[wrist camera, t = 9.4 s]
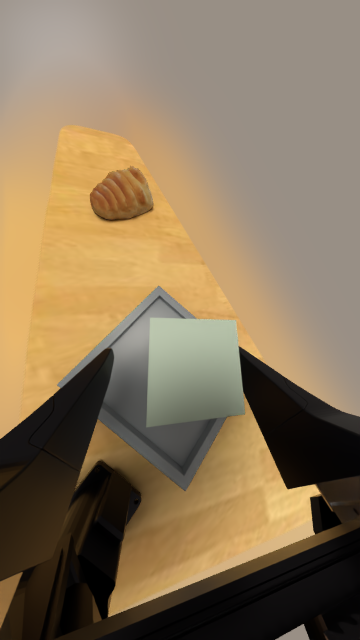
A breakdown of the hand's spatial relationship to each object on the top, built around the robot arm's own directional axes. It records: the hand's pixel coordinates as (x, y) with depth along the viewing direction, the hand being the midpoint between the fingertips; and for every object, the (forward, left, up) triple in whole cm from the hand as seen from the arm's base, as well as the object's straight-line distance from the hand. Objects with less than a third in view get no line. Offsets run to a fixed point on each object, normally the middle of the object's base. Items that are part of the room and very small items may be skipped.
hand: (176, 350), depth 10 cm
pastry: (+14, +21, -10) cm, 27 cm away
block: (0, 0, -8) cm, 8 cm away
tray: (-2, -2, -9) cm, 10 cm away
